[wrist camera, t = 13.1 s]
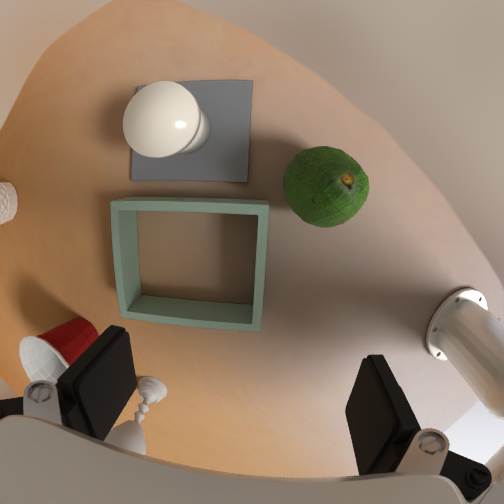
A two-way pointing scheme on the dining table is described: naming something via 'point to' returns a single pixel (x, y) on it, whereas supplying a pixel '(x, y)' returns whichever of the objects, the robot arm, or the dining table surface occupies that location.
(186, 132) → the white mushroom shaped cylinder
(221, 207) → the green open box
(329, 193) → the avocado
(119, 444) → the chalice
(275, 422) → the dining table surface
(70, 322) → the plastic cup
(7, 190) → the white cup
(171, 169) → the mat
